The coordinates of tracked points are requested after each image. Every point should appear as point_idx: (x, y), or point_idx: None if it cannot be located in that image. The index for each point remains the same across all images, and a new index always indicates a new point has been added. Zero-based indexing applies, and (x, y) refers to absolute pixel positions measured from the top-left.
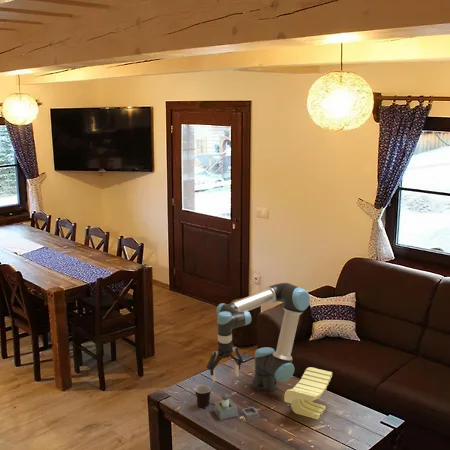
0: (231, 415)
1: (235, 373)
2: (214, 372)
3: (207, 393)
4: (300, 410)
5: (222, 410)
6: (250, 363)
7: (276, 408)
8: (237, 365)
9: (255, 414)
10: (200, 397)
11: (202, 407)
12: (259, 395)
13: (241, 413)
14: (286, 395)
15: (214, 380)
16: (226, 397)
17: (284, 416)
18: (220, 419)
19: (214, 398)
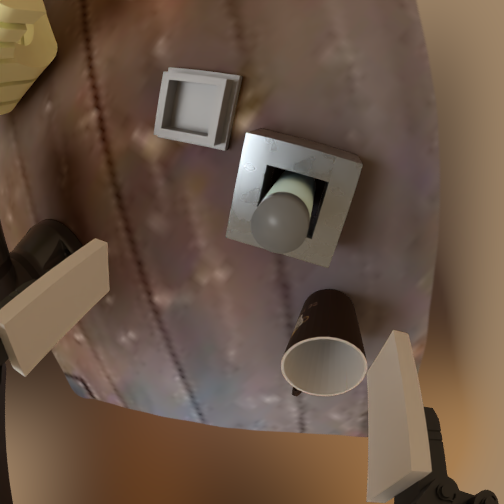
0: (292, 138)
1: (103, 295)
2: (415, 435)
3: (327, 332)
4: (40, 39)
5: (344, 165)
6: (68, 363)
7: (84, 103)
8: (3, 324)
9: (182, 73)
10: (359, 336)
11: (347, 299)
12: (92, 221)
13: (227, 137)
14: (16, 2)
15: (403, 340)
16: (289, 199)
17: (93, 39)
18: (357, 156)
19: (252, 320)
